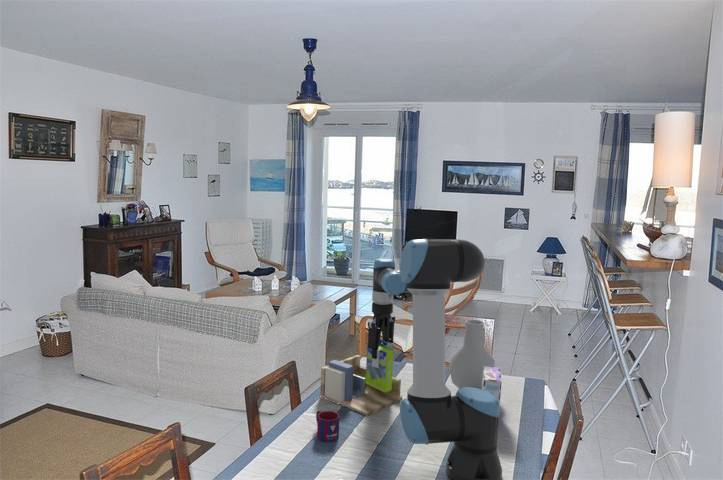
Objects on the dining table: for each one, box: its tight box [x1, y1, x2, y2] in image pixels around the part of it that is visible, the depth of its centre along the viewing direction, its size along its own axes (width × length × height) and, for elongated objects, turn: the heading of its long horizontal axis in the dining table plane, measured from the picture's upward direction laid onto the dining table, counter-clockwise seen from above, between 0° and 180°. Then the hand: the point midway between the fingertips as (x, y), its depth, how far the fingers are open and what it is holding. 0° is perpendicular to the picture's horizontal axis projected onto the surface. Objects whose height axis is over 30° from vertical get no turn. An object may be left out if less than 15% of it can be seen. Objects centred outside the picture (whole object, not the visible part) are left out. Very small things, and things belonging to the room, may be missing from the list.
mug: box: [315, 410, 340, 442], centre depth 173 cm, size 7×10×7 cm
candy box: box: [482, 366, 503, 404], centre depth 186 cm, size 14×6×16 cm, turn 168°
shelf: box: [320, 354, 403, 417], centre depth 201 cm, size 20×22×11 cm
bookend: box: [352, 374, 366, 399], centre depth 203 cm, size 6×10×6 cm, turn 50°
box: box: [365, 338, 395, 393], centre depth 201 cm, size 11×4×17 cm, turn 42°
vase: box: [448, 319, 496, 390], centre depth 206 cm, size 17×16×28 cm
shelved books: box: [325, 359, 353, 402], centre depth 198 cm, size 5×9×12 cm, turn 50°
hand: (379, 364), depth 201 cm, fingers closed on box, 4 cm apart
